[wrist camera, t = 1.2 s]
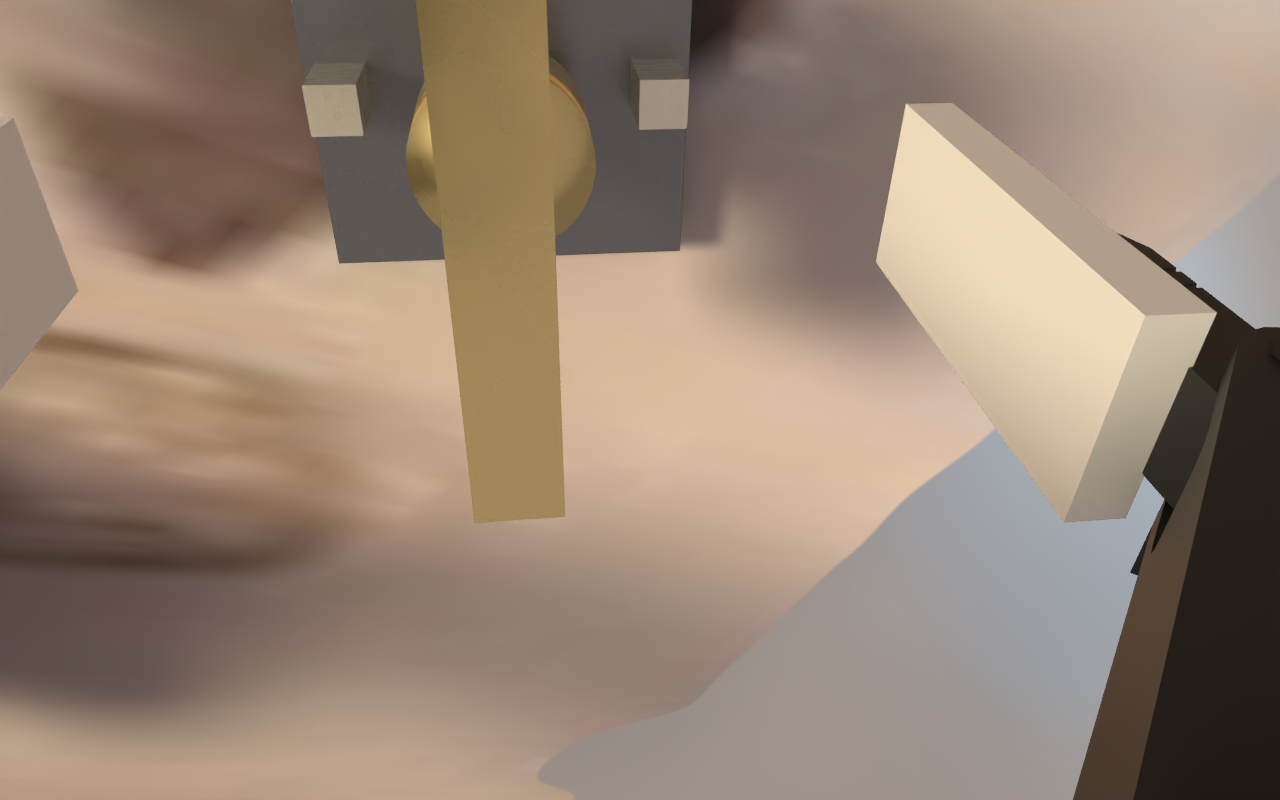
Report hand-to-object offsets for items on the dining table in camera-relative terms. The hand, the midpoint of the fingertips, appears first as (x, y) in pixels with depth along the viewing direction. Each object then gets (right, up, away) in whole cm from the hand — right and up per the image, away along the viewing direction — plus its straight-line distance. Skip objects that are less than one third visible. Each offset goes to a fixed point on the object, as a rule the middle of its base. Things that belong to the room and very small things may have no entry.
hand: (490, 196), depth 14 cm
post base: (-4, +11, +26) cm, 29 cm away
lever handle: (-3, +7, +20) cm, 22 cm away
